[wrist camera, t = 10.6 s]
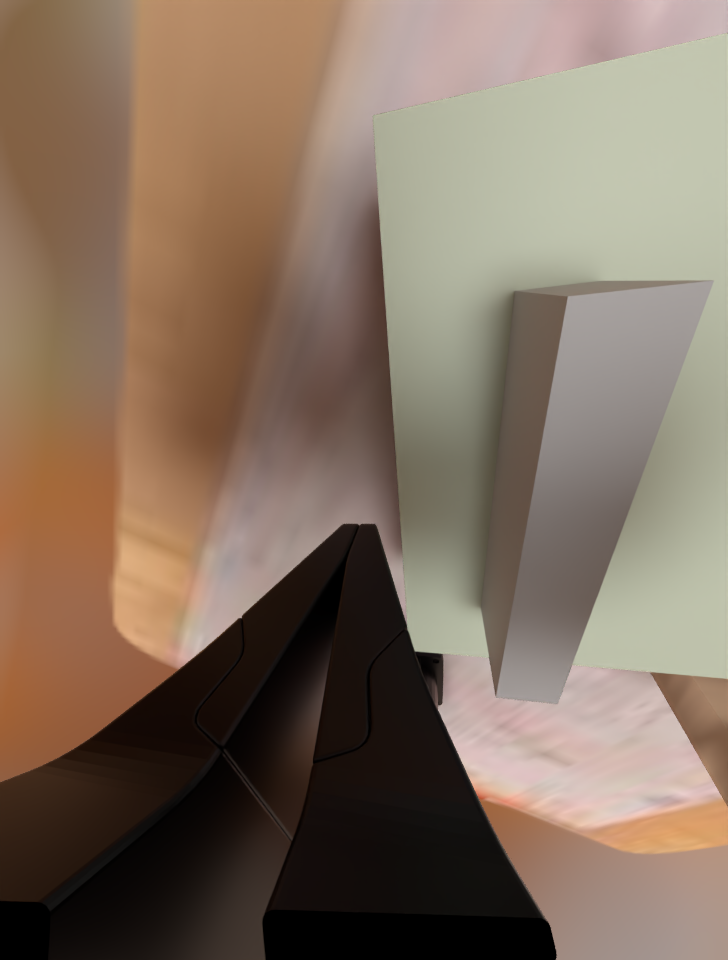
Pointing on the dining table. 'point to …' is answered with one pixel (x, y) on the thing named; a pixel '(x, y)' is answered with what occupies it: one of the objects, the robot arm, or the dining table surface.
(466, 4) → the dining table surface
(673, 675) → the brown wooden block
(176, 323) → the dining table surface
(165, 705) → the robot arm
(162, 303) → the dining table surface
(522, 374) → the lid
